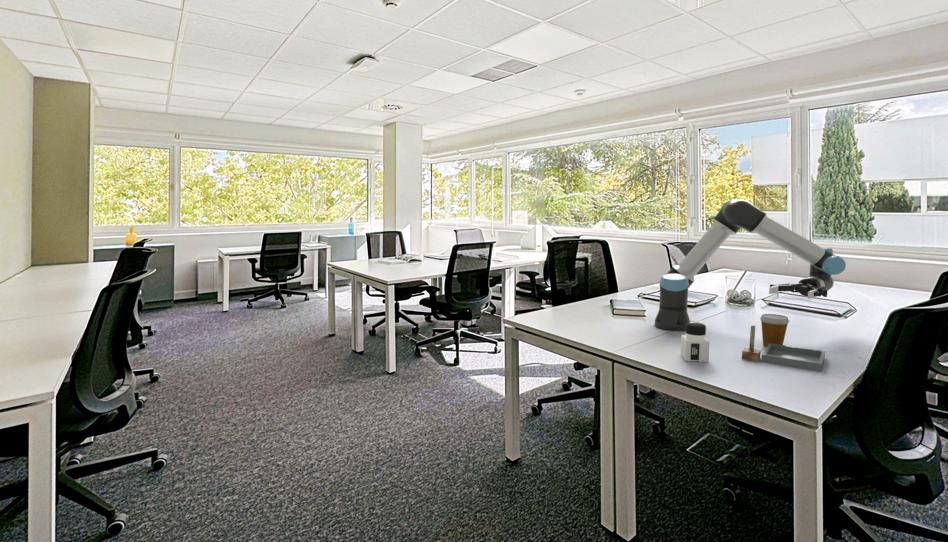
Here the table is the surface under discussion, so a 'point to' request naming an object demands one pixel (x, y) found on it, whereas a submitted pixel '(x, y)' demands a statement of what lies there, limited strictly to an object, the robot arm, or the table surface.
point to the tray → (794, 357)
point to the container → (695, 343)
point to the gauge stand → (751, 348)
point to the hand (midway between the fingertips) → (789, 292)
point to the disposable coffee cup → (773, 328)
